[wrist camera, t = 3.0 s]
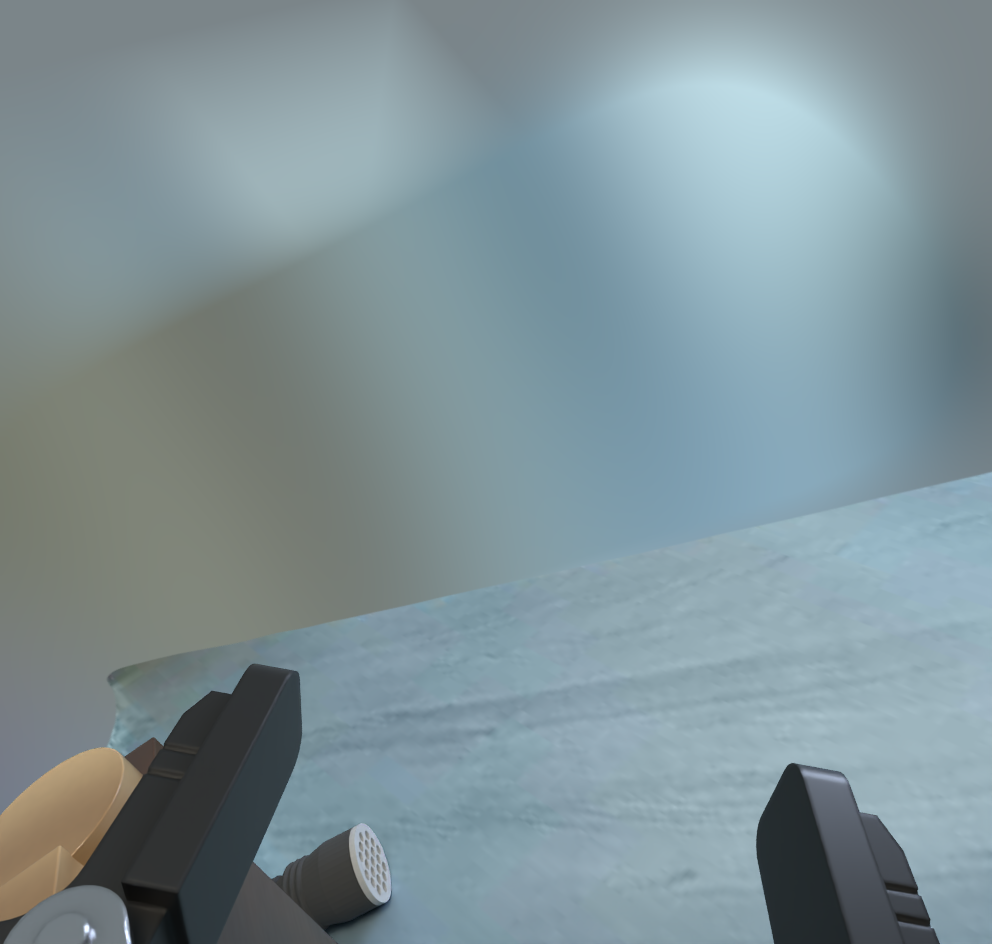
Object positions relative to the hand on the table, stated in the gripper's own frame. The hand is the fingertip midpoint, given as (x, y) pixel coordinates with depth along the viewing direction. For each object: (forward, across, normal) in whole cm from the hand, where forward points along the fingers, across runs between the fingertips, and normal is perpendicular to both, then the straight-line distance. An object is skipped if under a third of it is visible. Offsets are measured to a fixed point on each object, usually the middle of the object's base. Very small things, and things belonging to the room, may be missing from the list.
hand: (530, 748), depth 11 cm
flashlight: (+18, +12, +47) cm, 52 cm away
